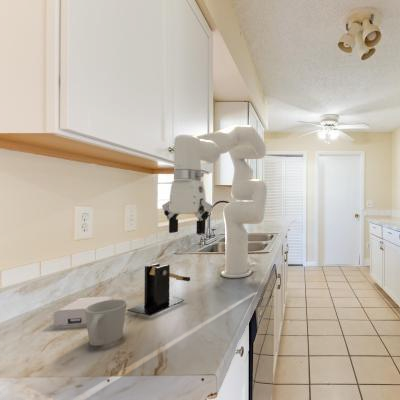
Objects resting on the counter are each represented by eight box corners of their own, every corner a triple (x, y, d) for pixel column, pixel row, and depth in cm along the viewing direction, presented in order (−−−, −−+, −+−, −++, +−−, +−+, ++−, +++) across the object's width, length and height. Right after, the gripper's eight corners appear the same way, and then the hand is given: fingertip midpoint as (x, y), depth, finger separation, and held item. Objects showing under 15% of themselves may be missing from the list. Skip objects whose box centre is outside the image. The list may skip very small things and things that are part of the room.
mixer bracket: (162, 299, 88) (162, 260, 88) (184, 303, 84) (184, 262, 84) (127, 314, 76) (127, 268, 77) (150, 319, 73) (150, 272, 73)
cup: (131, 333, 66) (131, 298, 66) (113, 356, 56) (113, 315, 56) (95, 336, 64) (95, 300, 64) (70, 361, 54) (70, 318, 54)
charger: (123, 304, 83) (95, 327, 69) (89, 306, 82) (53, 329, 67) (123, 289, 83) (95, 308, 69) (89, 290, 82) (53, 310, 67)
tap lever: (177, 281, 91) (179, 274, 92) (189, 283, 89) (191, 275, 90) (145, 273, 80) (148, 265, 81) (158, 275, 78) (161, 267, 79)
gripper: (219, 177, 84) (218, 232, 84) (172, 178, 89) (171, 230, 88) (204, 175, 77) (204, 235, 77) (154, 176, 81) (153, 233, 81)
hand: (186, 233), depth 83 cm, fingers open, 9 cm apart
